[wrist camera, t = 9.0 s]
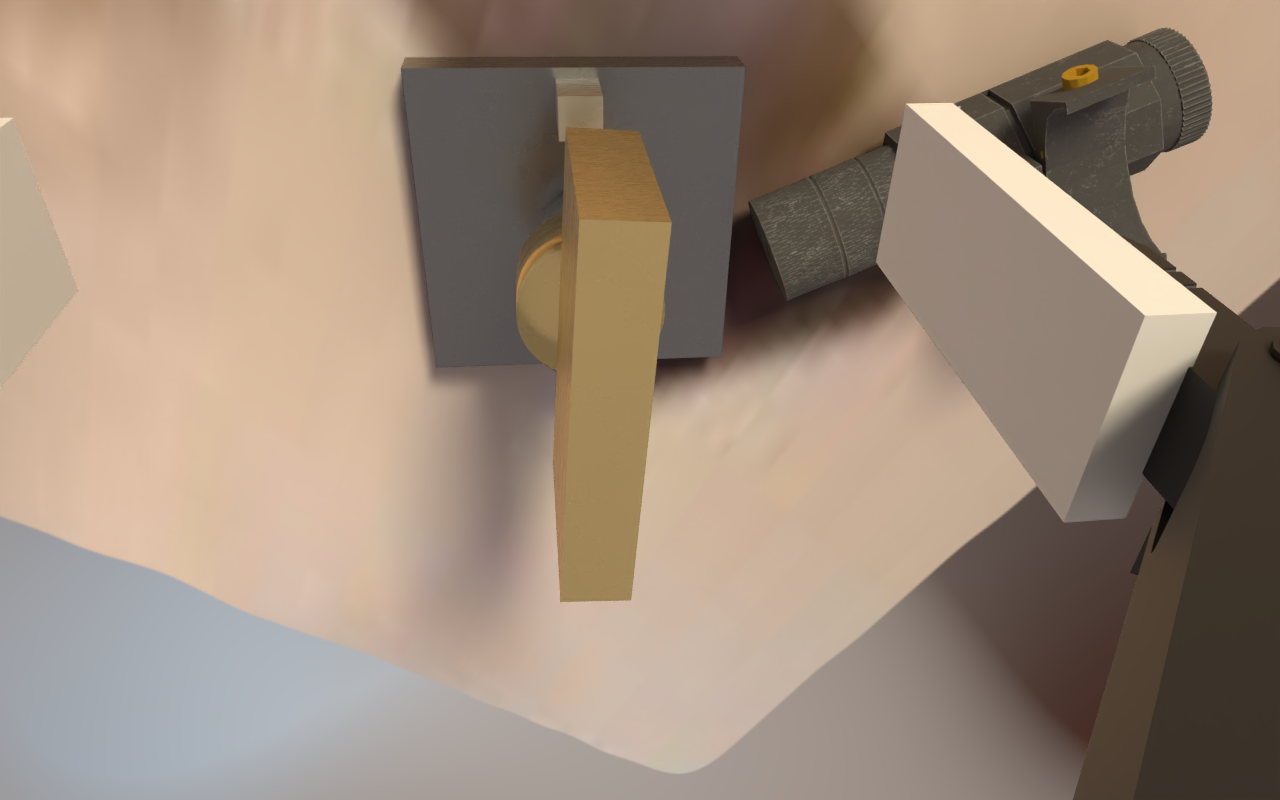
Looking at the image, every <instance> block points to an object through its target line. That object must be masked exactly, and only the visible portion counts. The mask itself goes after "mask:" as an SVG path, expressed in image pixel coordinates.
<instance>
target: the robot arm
mask: <svg viewBox="0 0 1280 800" xmlns="http://www.w3.org/2000/svg"><path fill="white" fill-rule="evenodd" d="M876 263H877V264H878V266H879V267H880V269H881V270H882V271H883V273H884V274H885V275H886V277H887V278H888V280H889V281H890V282H891V284H892V285H893V287H894V288H895V289H896V291H897V292H898V293H899V295H900V296H901V298H902V299H903V300H904V302H905V303H906V305H907V306H908V307H909V309H910V310H911V311H912V313H913V314H914V316H915V317H916V318H917V320H918V321H919V323H920V324H921V325H922V327H923V328H924V329H925V331H926V332H927V334H928V335H929V336H930V338H931V339H932V341H933V342H934V343H935V345H936V346H937V347H938V349H939V350H940V352H941V353H942V354H943V356H944V357H945V359H946V360H947V361H948V363H949V364H950V365H951V367H952V368H953V370H954V371H955V372H956V374H957V375H958V377H959V378H960V379H961V381H962V382H963V383H964V385H965V386H966V388H967V389H968V390H969V392H970V393H971V395H972V396H973V397H974V399H975V400H976V401H977V403H978V404H979V406H980V407H981V408H982V410H983V411H984V413H985V414H986V415H987V417H988V418H989V419H990V421H991V422H992V424H993V425H994V426H995V428H996V429H997V431H998V432H999V433H1000V435H1001V436H1002V437H1003V439H1004V440H1005V442H1006V443H1007V444H1008V446H1009V447H1010V449H1011V450H1012V451H1013V453H1014V454H1015V455H1016V457H1017V458H1018V460H1019V461H1020V462H1021V464H1022V465H1023V467H1024V468H1025V469H1026V471H1027V472H1028V473H1029V475H1030V476H1031V478H1032V479H1033V480H1034V482H1035V483H1036V485H1037V486H1038V487H1039V489H1040V490H1041V491H1042V492H1043V494H1044V495H1045V497H1046V498H1047V500H1048V501H1049V502H1050V504H1051V505H1052V506H1053V508H1054V509H1055V511H1056V512H1057V514H1058V515H1059V516H1060V518H1061V519H1062V520H1063V522H1077V521H1092V520H1106V519H1120V518H1126V516H1127V514H1128V511H1129V509H1130V507H1131V505H1132V503H1133V500H1134V498H1135V496H1136V494H1137V491H1138V489H1139V487H1140V484H1141V482H1142V480H1143V478H1144V476H1145V477H1146V478H1147V480H1148V481H1149V482H1150V483H1151V484H1152V485H1153V486H1154V487H1155V489H1156V490H1157V491H1158V492H1159V493H1160V494H1161V495H1162V497H1163V498H1164V499H1165V500H1164V502H1163V504H1162V506H1161V508H1160V510H1159V512H1158V514H1157V517H1156V519H1155V521H1154V523H1153V525H1152V527H1151V529H1150V531H1149V534H1148V536H1147V538H1146V540H1145V542H1144V544H1143V546H1142V549H1141V551H1140V553H1139V555H1138V557H1137V559H1136V561H1135V564H1134V565H1133V568H1132V570H1131V573H1133V574H1135V575H1138V577H1137V581H1136V584H1135V587H1134V591H1133V594H1132V598H1131V602H1130V605H1129V608H1128V612H1127V615H1126V618H1125V622H1124V625H1123V629H1122V632H1121V636H1120V639H1119V643H1118V646H1117V650H1116V653H1115V656H1114V660H1113V664H1112V667H1111V671H1110V674H1109V677H1108V681H1107V684H1106V688H1105V692H1104V694H1103V698H1102V702H1101V705H1100V709H1099V712H1098V715H1097V719H1096V722H1095V726H1094V729H1093V732H1092V736H1091V740H1090V743H1089V746H1088V750H1087V753H1086V757H1085V760H1084V763H1083V767H1082V770H1081V774H1080V777H1079V781H1078V784H1077V788H1076V791H1075V795H1074V798H1073V800H1280V328H1279V327H1278V328H1277V327H1274V328H1273V327H1263V328H1259V329H1255V328H1253V327H1252V326H1251V325H1249V324H1248V323H1247V322H1245V321H1244V320H1243V319H1242V318H1240V317H1239V316H1238V315H1236V314H1235V313H1234V312H1233V311H1231V310H1230V309H1229V308H1227V307H1226V306H1225V305H1224V304H1222V303H1221V302H1220V301H1218V300H1217V299H1216V298H1214V297H1213V296H1212V295H1211V294H1209V293H1208V292H1207V291H1205V290H1204V289H1203V288H1196V283H1195V282H1194V281H1193V280H1191V279H1190V278H1189V277H1187V276H1186V275H1185V274H1183V273H1182V272H1176V267H1174V266H1173V265H1172V264H1171V263H1169V262H1168V261H1167V260H1165V259H1164V258H1163V257H1162V256H1160V255H1159V254H1158V253H1156V252H1155V251H1154V250H1152V249H1151V248H1149V247H1147V246H1145V245H1143V244H1140V243H1138V242H1136V241H1134V240H1132V239H1129V238H1127V237H1125V236H1123V235H1121V234H1118V233H1116V232H1115V231H1113V230H1112V229H1111V228H1110V227H1108V226H1107V225H1106V224H1105V223H1103V222H1102V221H1101V220H1099V219H1098V218H1097V217H1096V216H1094V215H1093V214H1092V213H1091V212H1089V211H1088V210H1087V209H1086V208H1084V207H1083V206H1082V205H1081V204H1079V203H1078V202H1077V201H1076V200H1074V199H1073V198H1072V197H1070V196H1069V195H1068V194H1067V193H1065V192H1064V191H1063V190H1062V189H1060V188H1059V187H1058V186H1057V185H1055V184H1054V183H1053V182H1052V181H1050V180H1049V179H1048V178H1047V177H1045V176H1044V175H1043V174H1041V173H1040V172H1039V171H1038V170H1036V169H1035V168H1034V167H1033V166H1031V165H1030V164H1029V163H1028V162H1026V161H1025V160H1024V159H1023V158H1021V157H1020V156H1019V155H1017V154H1016V153H1015V152H1014V151H1012V150H1011V149H1010V148H1009V147H1007V146H1006V145H1005V144H1004V143H1002V142H1001V141H1000V140H999V139H997V138H996V137H995V136H994V135H992V134H991V133H990V132H988V131H987V130H986V129H985V128H983V127H982V126H981V125H980V124H978V123H977V122H976V121H975V120H973V119H972V118H971V117H970V116H968V115H967V114H966V113H965V112H963V111H962V110H961V109H959V108H958V107H957V106H956V105H954V104H953V103H918V104H906V106H905V111H904V117H903V122H902V127H901V132H900V138H899V143H898V148H897V153H896V159H895V164H894V169H893V174H892V180H891V185H890V190H889V195H888V201H887V206H886V211H885V217H884V222H883V227H882V232H881V238H880V243H879V248H878V253H877V259H876ZM77 292H78V289H77V286H76V283H75V281H74V278H73V275H72V273H71V270H70V267H69V265H68V262H67V259H66V257H65V254H64V251H63V249H62V246H61V243H60V241H59V238H58V235H57V233H56V230H55V227H54V225H53V222H52V219H51V217H50V214H49V211H48V209H47V206H46V203H45V201H44V198H43V195H42V193H41V190H40V187H39V185H38V182H37V179H36V177H35V174H34V171H33V169H32V166H31V163H30V161H29V158H28V155H27V153H26V150H25V148H24V145H23V142H22V140H21V137H20V134H19V132H18V129H17V126H16V124H15V121H14V118H0V390H1V388H2V387H3V386H4V385H5V383H6V382H7V381H8V380H9V378H10V377H11V376H12V374H13V373H14V372H15V371H16V369H17V368H18V367H19V365H20V364H21V363H22V362H23V360H24V359H25V358H26V357H27V355H28V354H29V353H30V351H31V350H32V349H33V348H34V346H35V345H36V344H37V343H38V341H39V340H40V339H41V337H42V336H43V335H44V334H45V332H46V331H47V330H48V328H49V327H50V326H51V325H52V323H53V322H54V321H55V320H56V318H57V317H58V316H59V314H60V313H61V312H62V311H63V309H64V308H65V307H66V306H67V304H68V303H69V302H70V300H71V299H72V298H73V297H74V295H75V294H76V293H77Z"/></svg>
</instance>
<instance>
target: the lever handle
mask: <svg viewBox="0 0 1280 800" xmlns="http://www.w3.org/2000/svg"><path fill="white" fill-rule="evenodd" d="M671 225H672V222H671V219H670V216H669V213H668V211H667V208H666V205H665V202H664V199H663V197H662V194H661V191H660V188H659V186H658V183H657V180H656V177H655V174H654V172H653V169H652V166H651V163H650V160H649V158H648V155H647V152H646V149H645V147H644V144H643V141H642V138H641V135H640V133H639V131H631V130H611V129H590V128H570V127H566V137H565V163H564V189H563V212H562V213H560V214H557V215H555V216H553V217H551V218H549V219H547V220H546V221H544V222H543V223H542V224H540V225H539V226H538V227H537V228H536V229H535V230H534V231H533V232H532V233H531V234H530V235H529V237H528V238H527V239H526V241H525V243H524V245H523V246H522V248H521V251H520V254H519V257H518V261H517V268H516V318H517V325H518V330H519V332H520V335H521V338H522V340H523V342H524V343H525V345H526V347H527V348H528V349H529V351H530V352H531V353H532V354H533V355H534V356H535V357H536V358H537V359H538V360H539V361H541V362H542V363H543V364H544V365H546V366H548V367H549V368H551V369H553V370H555V371H556V396H555V422H554V448H553V474H554V492H555V510H556V529H557V547H558V566H559V584H560V602H576V601H619V600H631V595H632V586H633V577H634V567H635V558H636V549H637V540H638V530H639V521H640V512H641V503H642V493H643V484H644V475H645V466H646V456H647V447H648V438H649V429H650V419H651V410H652V401H653V392H654V382H655V373H656V364H657V355H658V345H659V336H660V333H661V330H662V327H663V323H664V318H665V302H664V290H665V281H666V272H667V262H668V253H669V244H670V235H671Z"/></svg>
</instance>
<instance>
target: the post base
mask: <svg viewBox="0 0 1280 800" xmlns="http://www.w3.org/2000/svg"><path fill="white" fill-rule="evenodd" d="M401 72H402V80H403V89H404V97H405V106H406V114H407V123H408V131H409V140H410V148H411V157H412V165H413V174H414V182H415V191H416V199H417V208H418V216H419V225H420V233H421V242H422V250H423V259H424V267H425V275H426V284H427V292H428V301H429V309H430V318H431V326H432V335H433V343H434V352H435V360H436V367H461V366H487V365H513V364H539V363H542V362H541V361H539V360H538V359H537V358H536V357H535V356H534V355H533V354H532V353H531V352H530V351H529V349H528V348H527V347H526V345H525V343H524V342H523V340H522V338H521V335H520V332H519V330H518V325H517V318H516V268H517V261H518V257H519V254H520V251H521V248H522V246H523V245H524V243H525V241H526V239H527V238H528V237H529V235H530V234H531V233H532V232H533V231H534V230H535V229H536V228H537V227H538V226H539V225H540V224H542V223H543V222H544V221H546V220H547V219H549V218H551V217H553V216H555V215H557V214H560V213H562V212H563V189H564V163H565V137H566V127H570V128H590V129H611V130H631V131H639V133H640V135H641V138H642V141H643V144H644V147H645V149H646V152H647V155H648V158H649V160H650V163H651V166H652V169H653V172H654V174H655V177H656V180H657V183H658V186H659V188H660V191H661V194H662V197H663V199H664V202H665V205H666V208H667V211H668V213H669V216H670V219H671V222H672V225H671V235H670V244H669V253H668V262H667V272H666V281H665V290H664V302H665V318H664V323H663V327H662V330H661V333H660V336H659V345H658V355H657V359H668V358H694V357H720V356H721V353H722V341H723V329H724V317H725V305H726V293H727V281H728V269H729V257H730V245H731V233H732V221H733V209H734V197H735V185H736V173H737V161H738V149H739V137H740V125H741V113H742V101H743V89H744V77H745V66H744V64H743V63H742V62H741V61H740V60H739V58H738V57H472V58H405V60H404V63H403V65H402V67H401Z"/></svg>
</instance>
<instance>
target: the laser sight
mask: <svg viewBox="0 0 1280 800" xmlns="http://www.w3.org/2000/svg"><path fill="white" fill-rule="evenodd" d="M954 105H956V106H957V107H958V108H959V109H961V110H962V111H963V112H965V113H966V114H967V115H968V116H970V117H971V118H972V119H973V120H975V121H976V122H977V123H978V124H980V125H981V126H982V127H983V128H985V129H986V130H987V131H988V132H990V133H991V134H992V135H994V136H995V137H996V138H997V139H999V140H1000V141H1001V142H1002V143H1004V144H1005V145H1006V146H1007V147H1009V148H1010V149H1011V150H1012V151H1014V152H1015V153H1016V154H1017V155H1019V156H1020V157H1021V158H1023V159H1024V160H1025V161H1026V162H1028V163H1029V164H1030V165H1031V166H1033V167H1034V168H1035V169H1036V170H1038V171H1039V172H1040V173H1041V174H1043V175H1044V176H1045V177H1047V178H1048V179H1049V180H1050V181H1052V182H1053V183H1054V184H1055V185H1057V186H1058V187H1059V188H1060V189H1062V190H1063V191H1064V192H1065V193H1067V194H1068V195H1069V196H1070V197H1072V198H1073V199H1074V200H1076V201H1077V202H1078V203H1079V204H1081V205H1082V206H1083V207H1084V208H1086V209H1087V210H1088V211H1089V212H1091V213H1092V214H1093V215H1094V216H1096V217H1097V218H1098V219H1099V220H1101V221H1102V222H1103V223H1105V224H1106V225H1107V226H1108V227H1110V228H1111V229H1112V230H1113V231H1115V232H1116V233H1118V234H1121V235H1123V236H1125V237H1127V238H1129V239H1132V240H1134V241H1136V242H1138V243H1140V244H1143V245H1145V246H1147V247H1149V248H1151V249H1152V250H1154V251H1155V252H1156V253H1158V254H1159V255H1160V256H1162V257H1163V258H1164V259H1165V260H1167V255H1166V253H1161V251H1160V250H1159V249H1158V248H1157V246H1156V245H1155V244H1154V243H1153V241H1152V240H1151V238H1150V236H1149V234H1148V232H1147V230H1146V229H1145V227H1144V225H1143V223H1142V221H1141V218H1140V215H1139V212H1138V209H1137V206H1136V203H1135V200H1134V197H1133V191H1132V186H1131V181H1130V176H1131V175H1133V174H1136V173H1138V172H1141V171H1143V170H1145V169H1146V168H1147V167H1148V166H1149V165H1150V164H1151V163H1152V162H1153V161H1154V159H1155V158H1156V157H1157V156H1158V155H1159V154H1160V153H1161V152H1169V151H1171V150H1174V149H1176V148H1179V147H1182V146H1184V145H1187V144H1189V143H1192V142H1194V141H1196V140H1198V139H1200V138H1201V136H1203V134H1204V133H1206V129H1208V125H1209V121H1210V120H1211V118H1210V116H1211V115H1212V114H1211V111H1212V96H1211V89H1210V83H1209V78H1208V74H1207V71H1206V69H1205V66H1204V65H1203V63H1202V60H1201V59H1200V56H1199V54H1198V53H1197V51H1196V49H1195V48H1194V47H1193V45H1192V44H1190V42H1189V40H1187V39H1186V37H1184V36H1183V35H1182V34H1179V32H1178V31H1175V30H1174V29H1173V30H1171V28H1169V29H1168V28H1161V29H1157V30H1155V31H1152V32H1150V33H1148V34H1145V35H1143V36H1140V37H1138V38H1136V39H1133V40H1131V41H1130V42H1128V43H1127V45H1125V46H1120V45H1118V44H1115V43H1113V42H1111V41H1108V40H1107V41H1104V42H1102V43H1099V44H1097V45H1095V46H1092V47H1090V48H1087V49H1085V50H1082V51H1080V52H1078V53H1075V54H1073V55H1070V56H1068V57H1066V58H1063V59H1061V60H1058V61H1056V62H1054V63H1051V64H1049V65H1046V66H1044V67H1042V68H1039V69H1037V70H1034V71H1032V72H1030V73H1027V74H1025V75H1022V76H1020V77H1018V78H1015V79H1013V80H1010V81H1008V82H1006V83H1003V84H1001V85H998V86H996V87H994V88H991V89H989V90H986V91H984V92H982V93H979V94H977V95H974V96H972V97H969V98H967V99H965V100H962V101H960V102H957V103H955V104H954ZM901 127H902V126H900V127H897V128H895V129H893V130H890V131H888V132H885V137H884V143H883V146H882V147H880V148H878V149H875V150H873V151H870V152H868V153H866V154H863V155H860V156H857V157H855V158H854V159H850V160H848V161H846V162H843V163H841V164H839V165H837V166H834V167H832V168H829V169H827V170H824V171H822V172H819V173H816V174H814V175H811V176H810V177H809V178H804V179H802V180H800V181H798V182H796V183H793V184H791V185H788V186H786V187H783V188H780V189H778V190H775V191H773V192H771V193H769V194H767V195H764V196H762V197H759V198H757V199H754V200H751V201H749V208H750V212H751V215H752V218H753V222H754V225H755V228H756V231H757V233H758V236H759V239H760V242H761V244H762V247H763V250H764V252H765V255H766V258H767V260H768V263H769V265H770V268H771V270H772V272H773V275H774V277H775V279H776V282H777V284H778V286H779V288H780V290H781V292H782V294H783V296H784V298H785V299H786V301H789V300H791V299H793V298H795V297H798V296H800V295H802V294H805V293H808V292H810V291H813V290H815V289H818V288H820V287H823V286H825V285H828V284H830V283H833V282H835V281H838V280H841V279H844V278H845V277H849V276H851V275H854V274H856V273H858V272H860V271H863V270H865V269H868V268H870V267H873V266H875V265H878V264H877V263H876V259H877V253H878V248H879V243H880V238H881V232H882V227H883V222H884V217H885V211H886V206H887V201H888V195H889V190H890V185H891V180H892V174H893V169H894V164H895V159H896V153H897V148H898V143H899V138H900V132H901Z"/></svg>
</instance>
